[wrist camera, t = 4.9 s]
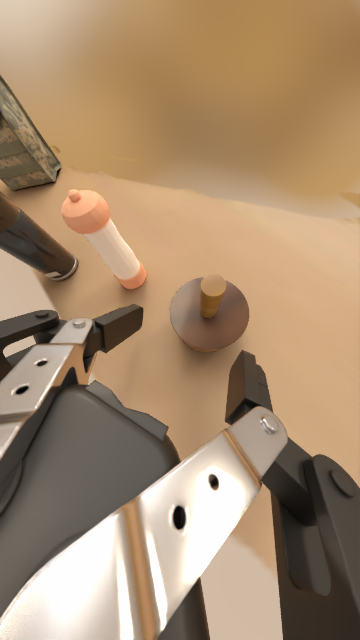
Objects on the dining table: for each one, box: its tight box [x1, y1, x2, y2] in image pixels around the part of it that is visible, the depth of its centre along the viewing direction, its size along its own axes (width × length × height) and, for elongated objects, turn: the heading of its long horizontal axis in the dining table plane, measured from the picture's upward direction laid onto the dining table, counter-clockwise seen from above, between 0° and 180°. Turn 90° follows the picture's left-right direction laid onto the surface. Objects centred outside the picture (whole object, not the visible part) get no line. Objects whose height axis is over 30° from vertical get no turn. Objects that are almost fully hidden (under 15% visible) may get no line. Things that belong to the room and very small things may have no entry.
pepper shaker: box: [61, 190, 146, 289], centre depth 27 cm, size 7×7×19 cm
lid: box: [170, 275, 249, 350], centre depth 18 cm, size 12×12×8 cm
